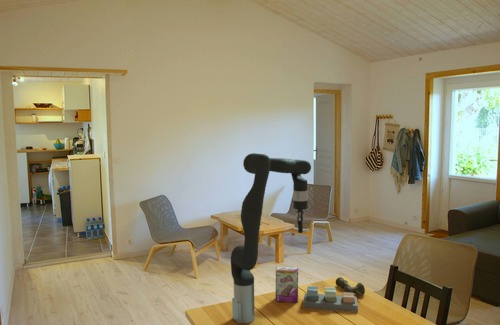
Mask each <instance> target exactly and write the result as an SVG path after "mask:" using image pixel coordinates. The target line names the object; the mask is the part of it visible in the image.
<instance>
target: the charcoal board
mask: <svg viewBox="0 0 500 325" xmlns="http://www.w3.org/2000/svg"><path fill="white" fill-rule="evenodd" d="M303 297H304V298H303V309H312V310H324V311H326V310H327V311H337V312H352V313H358V312H359V305H358V299H357V296H355V295H354V304H352V303H343V295H337V294H336V302H328V301H325V295H324V293H322V294H321V293H318V301H313V300H307V292H306V293H305V292H304V296H303Z"/></svg>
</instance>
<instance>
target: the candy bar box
mask: <svg viewBox="0 0 500 325" xmlns="http://www.w3.org/2000/svg"><path fill="white" fill-rule="evenodd" d="M275 302H277V303H278V302H279V303H299V267H292V266H289V267H288V266H276V267H275Z"/></svg>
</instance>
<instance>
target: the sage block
mask: <svg viewBox="0 0 500 325" xmlns="http://www.w3.org/2000/svg"><path fill="white" fill-rule="evenodd" d="M324 293H325V301H328V302H336V295H337V290H336V287H334V286H333V287H331V286H325V287H324Z"/></svg>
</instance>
